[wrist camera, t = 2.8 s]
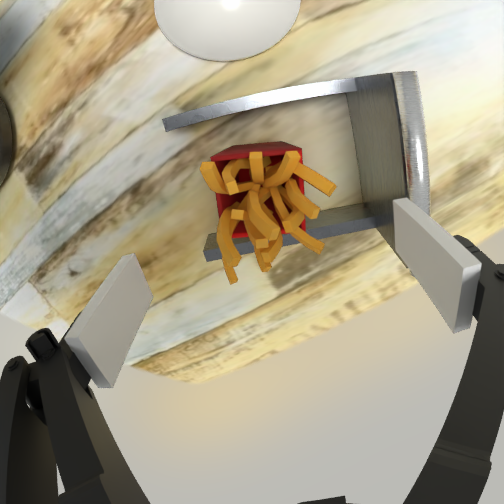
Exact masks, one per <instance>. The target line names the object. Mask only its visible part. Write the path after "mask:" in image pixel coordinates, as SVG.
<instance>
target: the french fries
mask: <svg viewBox="0 0 504 504" xmlns="http://www.w3.org/2000/svg"><path fill="white" fill-rule="evenodd" d="M210 158H211V162H202V164H201V167H200V171H201V173H202V175H203V177H204V179H205V181H206V183H207V184H208V186H209V188H210V189H211V190H212V191H214V192H215V193H216V200H217V207H218V214H219V223H218V227H217V243H218V245H219V248H220V251H221V253H222V260H223V264H224V268H225V272H226V274H227V277H228V280H229V282H230V285H231V284H233V283H236V282H237V281H238V278H237V276H236V274H235V271H234V269H233V267H234V266H237V265H238V263H239V261H240V259H241V258H242V257H241V255H240V254H239V252H238V251H237V249H236V247H235V246H234V244H233V241H232V239H231V238H242V237H249V239H250V240H251V242H252V244H253V245H254V251H255V254H256V258H257V261H258V263H259V266H260V268H261V271H262V272H268V271H269V270H270V268H271V267H272V266H271V264H270V262H272V261H273V260H274V259H275V257H276V256H277V254H278V253H279V251H280V249H281V247H282V245H283V237H282V234H291V235H292V237H294V238H295V239H296V240H298V241H299V242H300V243H302V244H303V245H304V246H306V247H307V248H309V249H311V250H313V251H314V252H316V253H318V254H319V255H320V253H321V251H322V250H323V248H324V245H325V244H324V243H322V242H321V241H319V240H317V239H315V238H313V237H311V236H310V235H309V234H307V233H306V221H305V215H306V216H307V217H309V218H310V219H315V218H317V216H318V213H319V211H320V208H319V207H318V206H316V205H315V204H314V203H312V202H311V201H310V200H309V199H308V198H306V197H305V196H304V181H306V182H308V183H309V184H311V185H312V186H314V187H315V188H317V189H318V190H320V191H321V192H323V193H324V194H326V195H327V196H329V197H330V196H331V194H332V193H333V191H334V190H335V189H336V187H337V186H336V185H335V184H334V183H333V182H331V181H329V180H328V179H326V178H325V177H323V176H321V175H320V174H318V173H317V172H315V171H313V170H312V169H310V168H308V167H307V166H305V165H303V161H302V148H299V147H296V146H293V145H291V144H288V143H285V142H282V141H280V142H267V143H255V144H244V145H235V146H231V147H229V148H227V149H225V150H223V151H221V152H219V153H218V154H216V155H214V156H212V157H210ZM268 240H269V243H268Z"/></svg>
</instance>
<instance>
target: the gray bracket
mask: <svg viewBox="0 0 504 504" xmlns="http://www.w3.org/2000/svg"><path fill="white" fill-rule="evenodd" d="M343 92H346V96H347V101H348V106H349V112H350V117H351V123H352V128H353V134H354V140H355V147H356V153H357V160H358V167H359V174H360V182H361V190H362V199H363V203H360V204H355V205H350V206H344V207H339V208H334V209H329V210H324V211H319V213H318V216H317V218H315V219H310V218H309V217H307V216H306V215H305V221H306V233H307V234H309V235H310V236H311V237H313V238H315V239H322V238H327V237H332V236H337V235H342V234H347V233H352V232H357V231H362V230H367V229H371V228H376V229H377V230H378V231H379V232H380V234H381V235H382V236H383V238H384V239H385V240H386V241H387V243H388V244H389V245H390V247H391V248H392V249H393V251H394V252H395V253H396V255H397V256H398V257H399V259H400V260H401V261H402V263H403V264H404V265H405V267H406V268H408V267H407V265H406V264H405V263H404V261H403V260H402V259H401V257H400V256H399V255H398V253H397V252H396V251H395V228H394V211H393V200H396V199H401V198H408V199H409V200H410V201H412V202H413V203H414V204H415V205H417V206H418V207H419V208H420V209H421V210H423V211H424V212H425V213H426V214H427V215H429V216H430V217H431V203H430V176H429V161H428V148H427V138H426V129H425V120H424V112H423V105H422V99H421V92H420V86H419V80H418V75H417V71H406V72H393V73H385V74H377V75H370V76H363V77H356V78H348V79H340V80H332V81H325V82H318V83H311V84H305V85H299V86H293V87H288V88H282V89H277V90H272V91H267V92H262V93H258V94H253V95H249V96H244V97H240V98H236V99H232V100H228V101H224V102H220V103H216V104H212V105H209V106H205V107H201V108H198V109H194V110H191V111H187V112H184V113H181V114H178V115H174V116H171V117H168V118H165V119H162V120H163V123H164V127H165V130H166V132H167V131H170V130H174V129H177V128H180V127H184V126H187V125H190V124H194V123H197V122H201V121H205V120H208V119H212V118H216V117H220V116H224V115H228V114H232V113H236V112H240V111H244V110H249V109H253V108H258V107H262V106H267V105H272V104H277V103H282V102H287V101H292V100H298V99H304V98H310V97H316V96H322V95H329V94H336V93H343ZM282 237H283V245H282V247H283V246H288V245H292V244H297V243H300V242H299V241H298V240H296V239H295V238H294V237H292V235H291V234H282ZM231 239H232V241H233V244H234V246H235V247H236V249H237V251H238V252H239V254H240V255H243V254H248V253H253V252H255V251H254V245H253V244H252V242H251V240H250V239H249V237H242V238H231ZM268 243H269V240H268ZM203 252H204V255H205V258H206V261H207V262H208V261H213V260H218V259H222V253H221V251H220V248H219V245H218V243H217V233H213V234H209V235H208V238H207V241H206V244H205V247H204V250H203ZM409 273H410V274H411V275H412V276H414V275H413V274H412V272H411V271H410V269H409ZM414 277H415V276H414Z"/></svg>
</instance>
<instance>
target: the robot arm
mask: <svg viewBox="0 0 504 504" xmlns="http://www.w3.org/2000/svg"><path fill="white" fill-rule="evenodd" d="M11 153H12V130H11V123H10V119H9V115H8V112H7V109H6V106H5V104H4V102H3V101H2V99H1V97H0V185H1V184H2V182H3V181H4V179H5V177H6V174H7V171H8V168H9V165H10V160H11ZM393 211H394V228H395V251H396V252H397V253H398V255H399V256H400V257H401V259H402V260H403V261H404V263H405V264H406V265H407V267H408V268H409V269H410V271H411V272H412V274H413V275H414V276H415V278H416V279H417V280H418V282H419V283H420V285H421V286H422V287H423V289H424V290H425V292H426V293H427V295H428V296H429V298H430V299H431V300H432V302H433V303H434V305H435V306H436V308H437V309H438V311H439V312H440V314H441V315H442V317H443V318H444V320H445V321H446V323H447V324H448V326H449V328H450V329H451V330H452V332H453V333H457V332H459V331H462V330H465V329H468V328H470V326H471V321H472V316H474V317H475V318H476V320H477V321H478V323H477V327H476V331H475V335H474V338H473V342H472V346H471V349H470V353H469V356H468V360H467V363H466V366H465V369H464V372H463V375H462V378H461V381H460V384H459V387H458V390H457V392H456V395H455V398H454V401H453V403H452V406H451V408H450V411H449V413H448V416H447V418H446V420H445V423H444V425H443V428H442V430H441V432H440V435H439V437H438V439H437V441H436V443H435V445H434V447H433V450H432V451H431V453H430V455H429V458H428V459H427V462H426V464H425V465H424V467H423V469H422V471H421V473H420V475H419V477H418V478H417V480H416V482H415V484H414V486H413V488H412V489H411V491H410V493H409V494H408V496H407V498H406V499H405V501H404V503H403V504H477V503H478V501H479V499H480V496H481V494H482V492H483V489H484V487H485V484H486V482H487V479H488V476H489V473H490V470H491V465H492V463H491V462H490V456H491V453H492V450H493V446H494V443H495V440H496V437H497V434H498V430H499V427H500V423H501V419H502V415H503V411H504V264H497V265H496V264H495V263H494V262H492V260H490V259H489V258H488V257H487V256H486V255H485V254H484V253H483V252H482V251H480V250H479V249H478V248H477V247H476V246H475V245H474V244H473V243H472V242H471V241H469V240H468V239H466V238H464V237H462V236H460V235H455V236H452V235H451V234H450V233H448V232H447V231H446V230H445V229H444V228H443V227H442V226H440V225H439V224H438V223H437V222H436V221H435V220H433V219H432V218H431V217H430V216H429V215H427V214H426V213H425V212H424V211H423V210H421V209H420V208H419V207H418V206H417V205H415V204H414V203H413V202H412V201H410V200H409V199H408V198H401V199H396V200H393ZM152 299H153V295H152V292H151V290H150V288H149V286H148V283H147V281H146V279H145V276H144V274H143V272H142V269H141V267H140V265H139V262H138V260H137V257H136V255H135V253H133V254H129V255H124V256H122V257H121V259H120V260H119V261H118V263H117V264H116V265H115V267H114V268H113V269H112V271H111V272H110V273H109V275H108V276H107V277H106V279H105V280H104V281H103V283H102V284H101V285H100V287H99V288H98V290H97V291H96V292H95V294H94V295H93V297H92V298H91V299H90V301H89V302H88V304H87V305H86V307H85V308H84V309H83V310H82V311H81V312H80V313H79V314H78V316H77V317H76V318H75V320H74V322H73V323H72V324H71V326H70V328H69V329H68V330H67V332H66V333H65V335H64V336H63V338H62V339H61V341H60V342H59V343H58V341H57V340H56V338H55V337H54V335H53V334H52V332H51V330H50V329H49V328H43V329H40V330H38V331H36V332H35V333H34V334H32V335H31V336H30V337H29V338H28V340H27V342H26V345H25V346H26V347H27V349H28V350H29V352H30V353H31V354H32V356H33V357H34V359H35V360H36V362H33V363H30V364H28V363H27V361H26V360H25V359H24V357H23V356H17V357H14V358H12V359H10V360H9V361H8V362H7V364H6V365H5V367H4V369H3V372H2V376H1V379H0V504H150V502H149V501H148V499H147V497H146V496H145V494H144V493H143V491H142V489H141V487H140V486H139V484H138V483H137V481H136V479H135V477H134V476H133V474H132V472H131V470H130V468H129V467H128V465H127V463H126V461H125V459H124V457H123V455H122V453H121V451H120V450H119V448H118V446H117V444H116V442H115V440H114V438H113V436H112V434H111V431H110V430H109V427H108V425H107V423H106V421H105V419H104V416H103V414H102V412H101V410H100V407H99V405H98V403H97V400H96V398H95V396H94V393H93V391H92V389H91V388H90V387H89V386H88V384H89V382H90V379H92V380H93V381H94V383H95V384H96V385H97V387H98V388H113V386H114V383H115V381H116V379H117V377H118V374H119V372H120V370H121V367H122V365H123V363H124V360H125V358H126V356H127V354H128V351H129V349H130V347H131V344H132V342H133V340H134V338H135V336H136V333H137V331H138V329H139V327H140V325H141V322H142V320H143V318H144V316H145V314H146V312H147V310H148V307H149V305H150V303H151V301H152ZM27 404H28V405H29V406H30V408H29V407H28V405H27ZM56 463H57V465H56ZM56 466H58V470H59V473H60V476H61V479H62V482H63V485H64V488H65V492H64V493H62V494H60V495H59V497H58V486H57V468H56ZM298 504H351V503H346V499H345V496H340V497H335V498H328V499H322V500H315V501H307V502H301V503H298Z"/></svg>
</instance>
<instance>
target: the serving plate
mask: <svg viewBox="0 0 504 504" xmlns="http://www.w3.org/2000/svg"><path fill="white" fill-rule="evenodd" d="M300 2H301V0H154V10H155V16H156V20H157V22H158V25H159V27H160V29H161V31H162V32H163V33H164V35H165V36H166V38H167V39H168V40H169V41H170V42H171V43H173V44H174V45H175V46H177V47H178V48H179V49H181V50H183V51H185V52H186V53H188V54H190V55H193V56H195V57H198V58H202V59H205V60H212V61H235V60H241V59H246V58H249V57H253V56H255V55H258V54H260V53H262V52H264V51H266V50H268V49H270V48H271V47H272V46H274V45H275V44H277V43H278V42H279V41H280V40H281V39H282V38H283V37H284V36H285V35H286V34H287V33H288V32H289V30H290V29H291V27H292V25H293V24H294V22H295V20H296V17H297V15H298V12H299V8H300Z"/></svg>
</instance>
